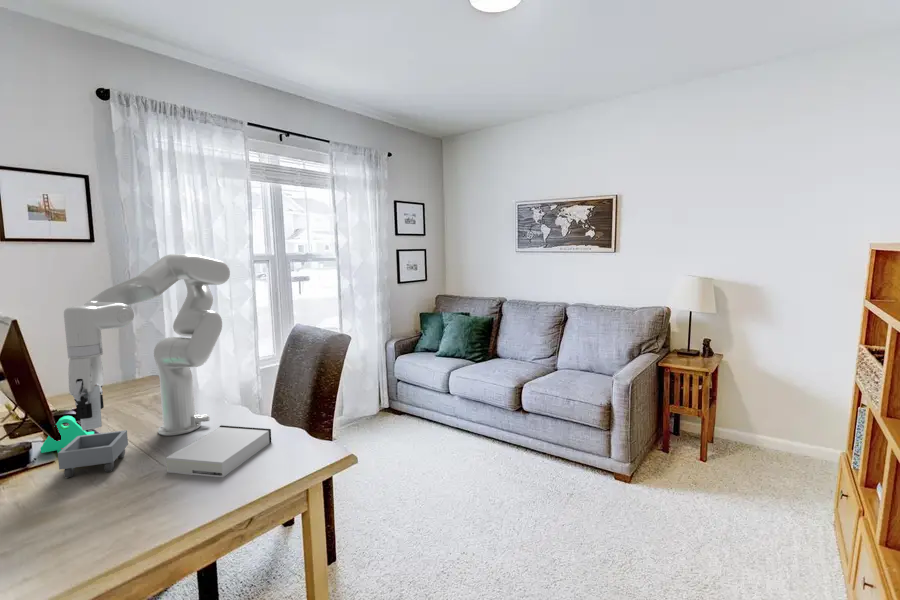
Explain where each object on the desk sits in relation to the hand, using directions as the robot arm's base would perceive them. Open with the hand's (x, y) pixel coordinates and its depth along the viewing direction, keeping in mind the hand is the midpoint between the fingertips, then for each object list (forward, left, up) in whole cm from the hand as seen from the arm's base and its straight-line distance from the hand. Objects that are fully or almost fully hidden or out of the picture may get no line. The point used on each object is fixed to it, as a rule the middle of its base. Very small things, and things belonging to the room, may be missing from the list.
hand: (91, 413), depth 125 cm
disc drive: (-33, +5, -16) cm, 37 cm away
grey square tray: (0, 0, -16) cm, 16 cm away
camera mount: (+13, -19, -16) cm, 29 cm away
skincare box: (0, 0, -4) cm, 4 cm away
